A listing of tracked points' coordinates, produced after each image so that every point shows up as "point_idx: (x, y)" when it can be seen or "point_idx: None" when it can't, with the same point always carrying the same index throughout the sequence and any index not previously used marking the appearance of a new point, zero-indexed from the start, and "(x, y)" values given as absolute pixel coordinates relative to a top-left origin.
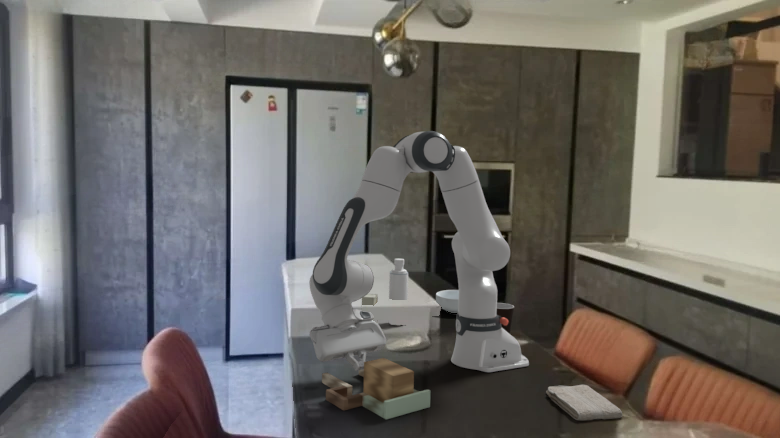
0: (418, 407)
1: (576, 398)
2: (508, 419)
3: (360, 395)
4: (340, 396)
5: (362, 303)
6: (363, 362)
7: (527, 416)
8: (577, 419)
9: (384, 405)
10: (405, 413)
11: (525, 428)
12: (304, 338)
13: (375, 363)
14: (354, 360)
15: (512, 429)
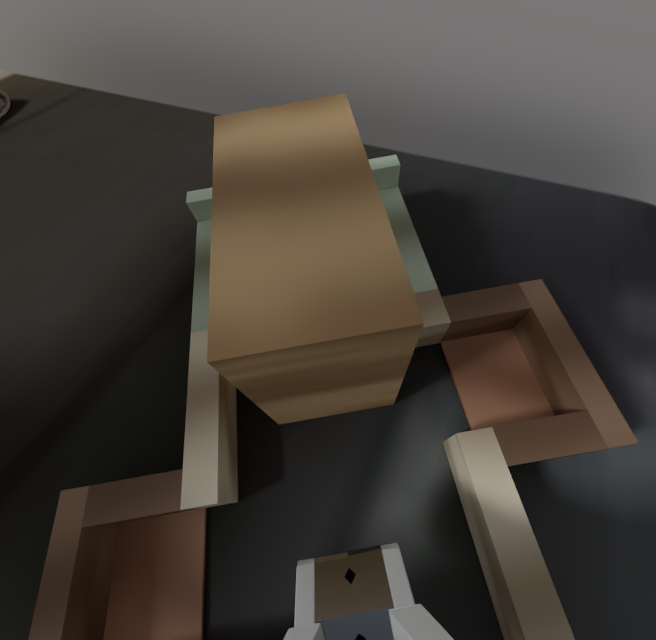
0: None
1: None
2: (110, 137)
3: (449, 300)
4: (552, 321)
5: None
6: (324, 595)
7: (62, 138)
8: (9, 103)
9: (397, 176)
10: None
11: (124, 105)
12: None
13: (346, 265)
14: (431, 621)
15: (149, 107)
